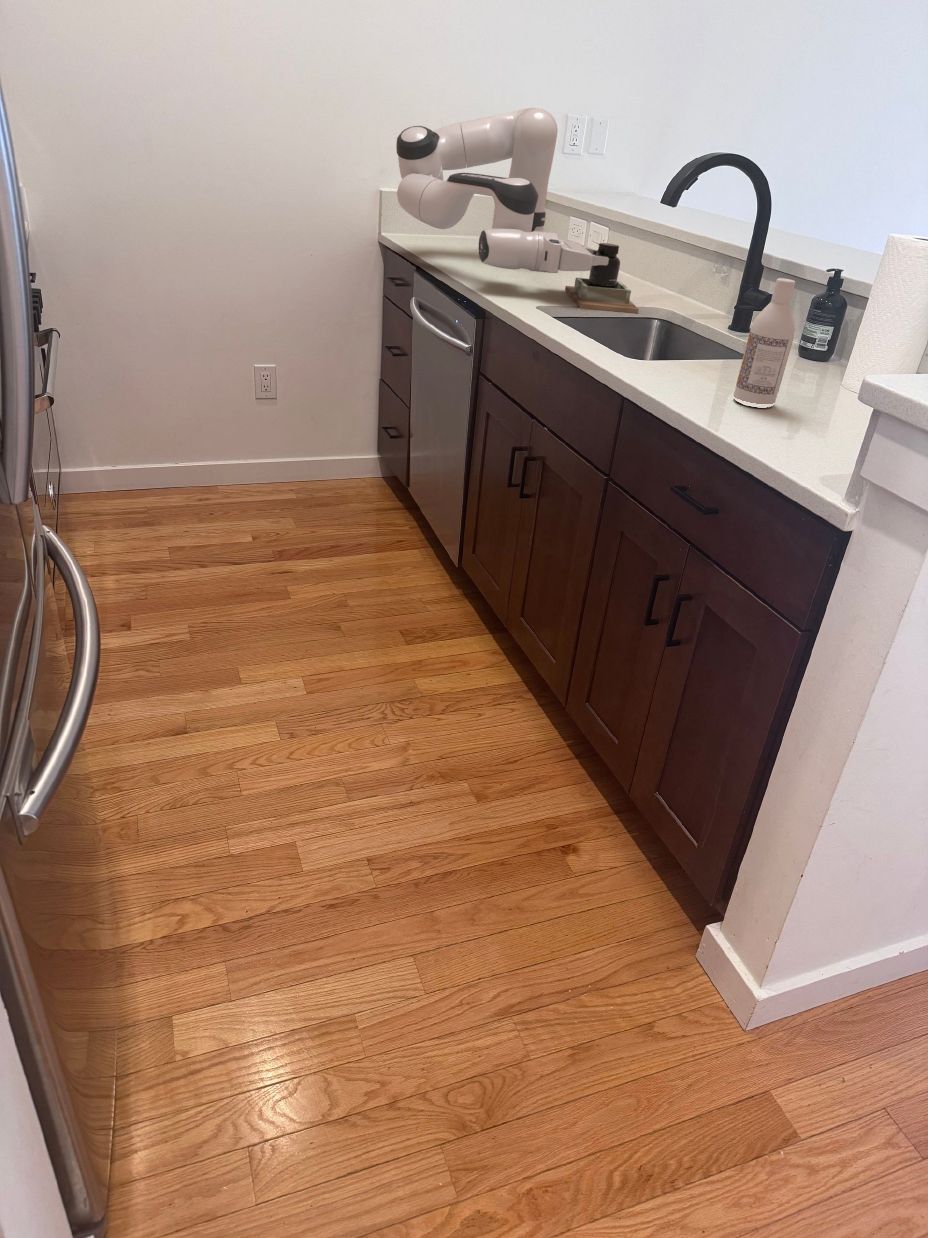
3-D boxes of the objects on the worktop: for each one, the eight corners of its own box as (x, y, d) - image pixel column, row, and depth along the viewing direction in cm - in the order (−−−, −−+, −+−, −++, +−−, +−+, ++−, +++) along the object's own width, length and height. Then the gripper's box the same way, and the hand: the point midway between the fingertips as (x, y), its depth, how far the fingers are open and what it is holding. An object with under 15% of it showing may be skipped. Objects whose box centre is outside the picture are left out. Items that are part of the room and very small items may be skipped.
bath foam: (742, 394, 154) (774, 273, 143) (780, 404, 150) (815, 282, 140) (725, 401, 149) (756, 276, 139) (763, 412, 145) (798, 285, 135)
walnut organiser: (564, 289, 224) (567, 273, 222) (618, 294, 226) (621, 278, 224) (579, 308, 206) (582, 290, 204) (638, 313, 207) (641, 295, 205)
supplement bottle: (613, 300, 212) (622, 247, 206) (585, 296, 213) (593, 243, 206) (614, 296, 218) (623, 244, 212) (587, 292, 218) (595, 240, 212)
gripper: (539, 259, 219) (593, 264, 221) (551, 273, 202) (610, 279, 203) (542, 231, 216) (597, 237, 218) (555, 244, 199) (615, 250, 200)
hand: (603, 257), depth 210 cm, fingers open, 8 cm apart
